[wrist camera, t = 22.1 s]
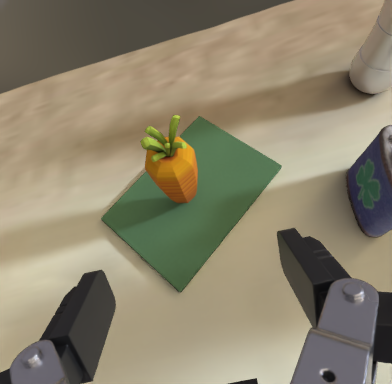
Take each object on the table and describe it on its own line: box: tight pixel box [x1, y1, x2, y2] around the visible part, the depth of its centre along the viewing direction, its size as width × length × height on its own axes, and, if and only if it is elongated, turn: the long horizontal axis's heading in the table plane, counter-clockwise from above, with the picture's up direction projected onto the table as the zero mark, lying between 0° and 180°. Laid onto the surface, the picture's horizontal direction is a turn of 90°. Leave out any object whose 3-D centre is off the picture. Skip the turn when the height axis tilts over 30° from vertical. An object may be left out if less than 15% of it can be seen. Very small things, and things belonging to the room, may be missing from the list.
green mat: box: [101, 116, 281, 292], centre depth 36 cm, size 14×20×1 cm
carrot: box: [141, 115, 198, 203], centre depth 29 cm, size 5×5×15 cm
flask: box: [346, 125, 392, 237], centre depth 28 cm, size 9×3×11 cm, turn 0°
